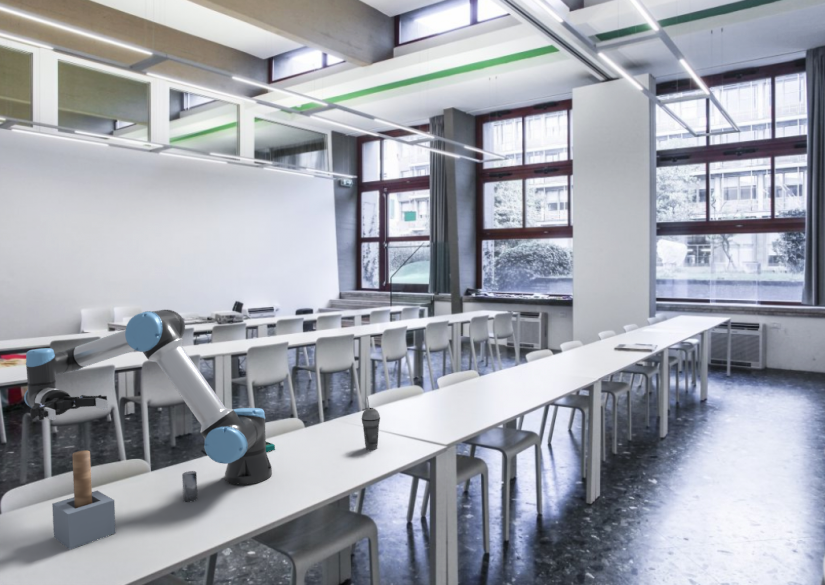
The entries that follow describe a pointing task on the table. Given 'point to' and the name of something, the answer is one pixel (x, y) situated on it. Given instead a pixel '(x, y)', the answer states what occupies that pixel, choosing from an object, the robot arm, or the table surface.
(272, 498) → the table surface
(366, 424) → the beverage cup
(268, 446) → the digital multimeter
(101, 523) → the collar block
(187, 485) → the short steel pin
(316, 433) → the table surface
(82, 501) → the long walnut pin
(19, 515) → the table surface
